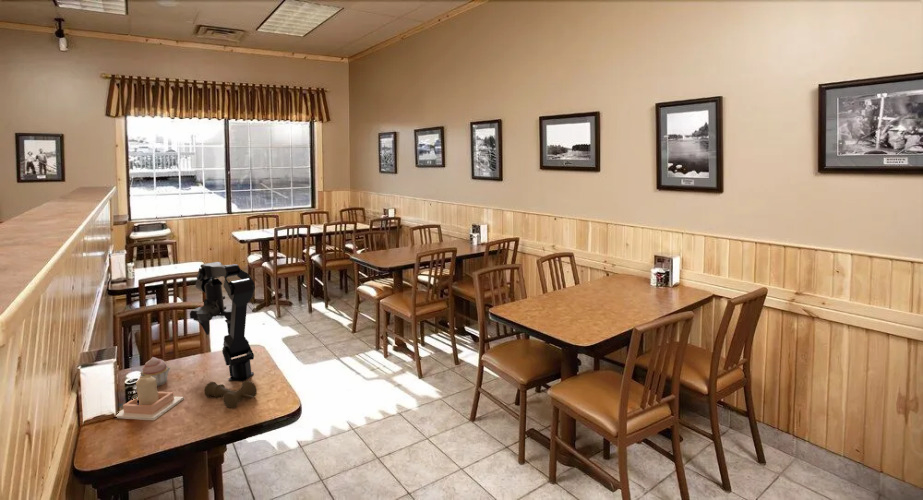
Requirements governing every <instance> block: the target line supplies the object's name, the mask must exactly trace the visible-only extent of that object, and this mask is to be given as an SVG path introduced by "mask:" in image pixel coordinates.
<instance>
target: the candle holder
mask: <svg viewBox="0 0 923 500" xmlns="http://www.w3.org/2000/svg"><path fill="white" fill-rule="evenodd" d="M158 397H159V400H158V401H156V402H155V403H153V404H152V405H137V404H138V403H137V398H136V399H134V398H132V399H133V400H132V399H130V400H129V401H128V402H126V403H124V404H122V409H121V410H119V411H118V412H119V413H118V412H117V413H118V414H117V415H116V417H117V418H116V419H128V420H141V421H142V420H143V421H155V420H157V419H159V417H161V416H163V415H164V414H165V413H166V412H168V411H169V410H171V409H173V408H174V407H175V406H176V405H178V404H179V403H180V402H182V401H183V400H184V399H185V398H184V396H174V392H172V391H158Z"/></svg>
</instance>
